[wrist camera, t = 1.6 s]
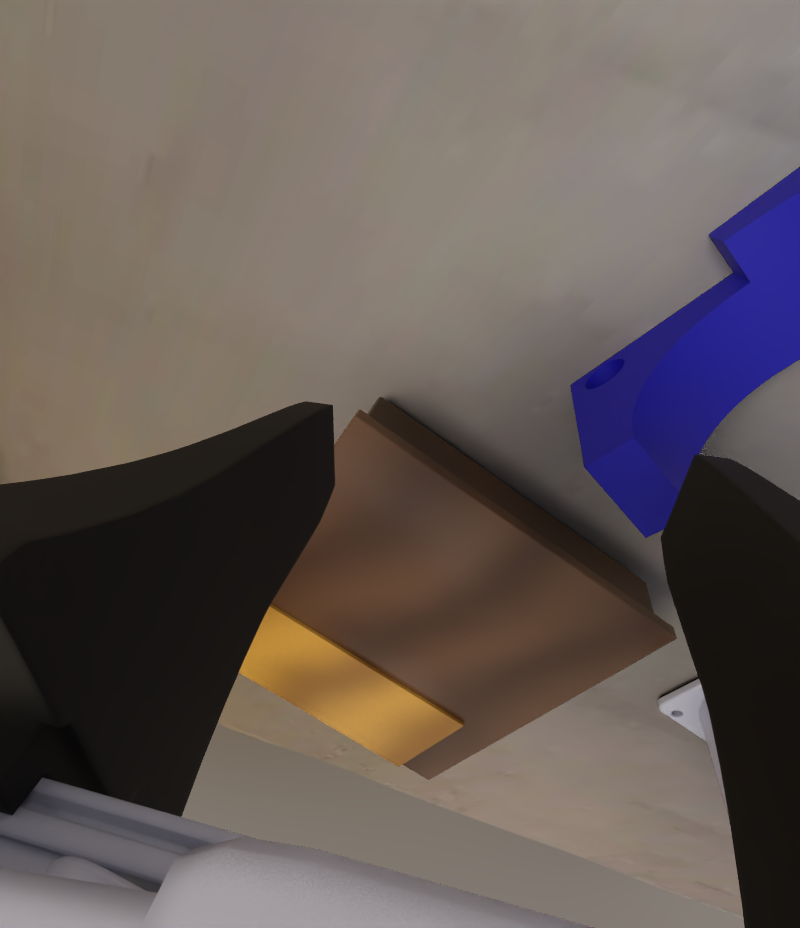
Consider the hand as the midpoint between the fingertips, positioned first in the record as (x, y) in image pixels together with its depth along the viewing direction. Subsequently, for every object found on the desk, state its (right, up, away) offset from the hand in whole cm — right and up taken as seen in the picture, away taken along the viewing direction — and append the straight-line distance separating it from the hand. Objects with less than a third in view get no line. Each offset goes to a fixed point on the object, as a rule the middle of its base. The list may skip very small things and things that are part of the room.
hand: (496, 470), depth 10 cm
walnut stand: (-1, -6, +16) cm, 17 cm away
